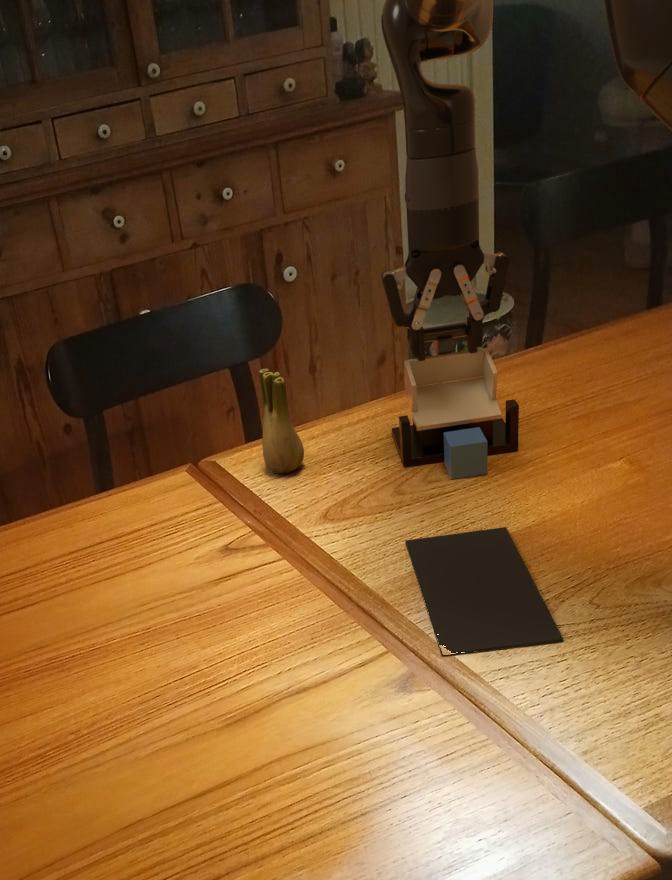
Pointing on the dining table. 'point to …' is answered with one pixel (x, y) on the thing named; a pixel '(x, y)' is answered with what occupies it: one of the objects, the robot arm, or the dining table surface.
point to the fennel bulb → (278, 426)
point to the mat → (480, 592)
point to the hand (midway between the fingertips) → (446, 354)
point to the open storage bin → (451, 383)
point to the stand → (431, 441)
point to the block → (465, 453)
